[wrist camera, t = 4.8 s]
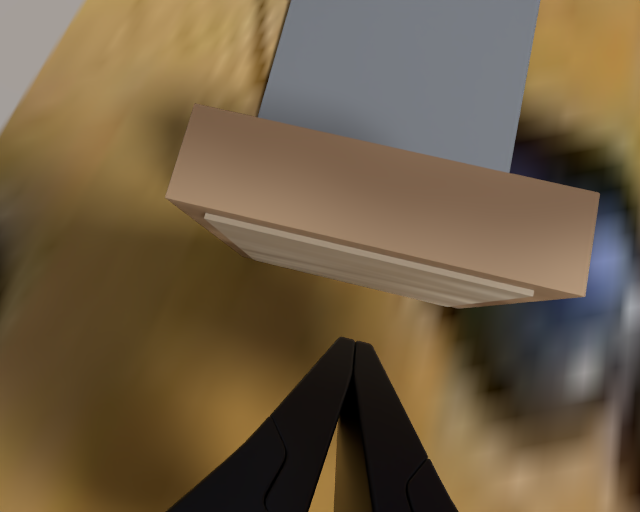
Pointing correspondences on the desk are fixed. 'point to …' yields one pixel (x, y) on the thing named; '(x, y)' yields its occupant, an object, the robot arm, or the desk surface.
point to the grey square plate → (407, 74)
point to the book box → (382, 213)
